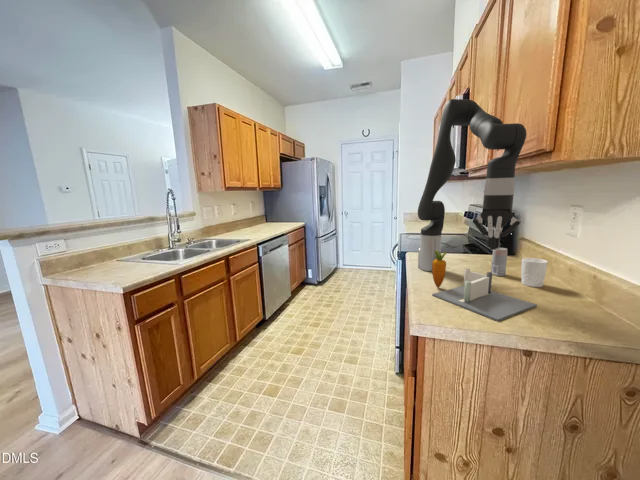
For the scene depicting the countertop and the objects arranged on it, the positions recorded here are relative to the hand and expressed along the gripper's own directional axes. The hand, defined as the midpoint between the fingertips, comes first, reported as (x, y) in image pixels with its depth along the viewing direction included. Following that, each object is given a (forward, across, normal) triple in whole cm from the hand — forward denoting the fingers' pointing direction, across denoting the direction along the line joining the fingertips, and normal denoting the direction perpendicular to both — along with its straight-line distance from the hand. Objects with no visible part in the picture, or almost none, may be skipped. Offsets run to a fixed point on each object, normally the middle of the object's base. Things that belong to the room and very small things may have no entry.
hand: (493, 249), depth 83 cm
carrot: (+19, +18, -7) cm, 28 cm away
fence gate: (+18, +4, -3) cm, 19 cm away
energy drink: (+20, +4, -40) cm, 45 cm away
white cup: (+19, -8, -33) cm, 39 cm away
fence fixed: (+19, +6, -12) cm, 23 cm away
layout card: (+19, +3, -3) cm, 20 cm away
